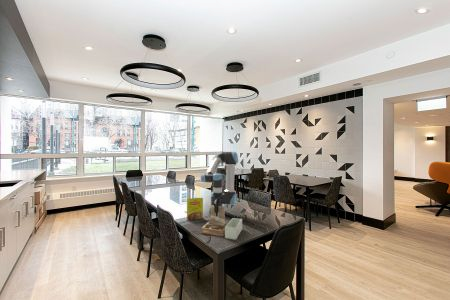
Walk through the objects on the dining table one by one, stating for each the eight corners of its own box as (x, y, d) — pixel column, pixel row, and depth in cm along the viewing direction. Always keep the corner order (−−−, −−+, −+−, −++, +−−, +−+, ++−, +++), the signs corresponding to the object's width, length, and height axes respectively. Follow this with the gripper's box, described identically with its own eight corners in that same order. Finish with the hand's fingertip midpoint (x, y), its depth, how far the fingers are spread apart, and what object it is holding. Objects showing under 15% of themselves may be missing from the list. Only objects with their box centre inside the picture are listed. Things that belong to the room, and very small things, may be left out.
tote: (232, 228, 183) (232, 218, 182) (242, 229, 180) (242, 219, 180) (224, 238, 163) (225, 226, 163) (235, 239, 160) (235, 228, 160)
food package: (187, 219, 203) (187, 198, 203) (186, 219, 204) (187, 198, 204) (202, 218, 207) (203, 197, 207) (202, 217, 208) (202, 197, 208)
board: (211, 225, 184) (211, 205, 184) (224, 227, 181) (224, 206, 180) (210, 226, 182) (210, 205, 182) (223, 228, 179) (223, 207, 178)
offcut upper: (211, 228, 178) (211, 225, 178) (218, 228, 177) (218, 226, 177) (211, 229, 174) (211, 227, 174) (218, 230, 174) (218, 227, 173)
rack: (208, 226, 187) (208, 221, 187) (228, 228, 181) (229, 224, 181) (201, 233, 172) (201, 228, 172) (223, 236, 166) (223, 231, 166)
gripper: (216, 189, 189) (216, 216, 190) (210, 193, 175) (210, 222, 175) (224, 190, 187) (224, 217, 187) (218, 194, 172) (218, 223, 173)
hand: (217, 219), depth 181 cm, fingers closed on board, 2 cm apart
